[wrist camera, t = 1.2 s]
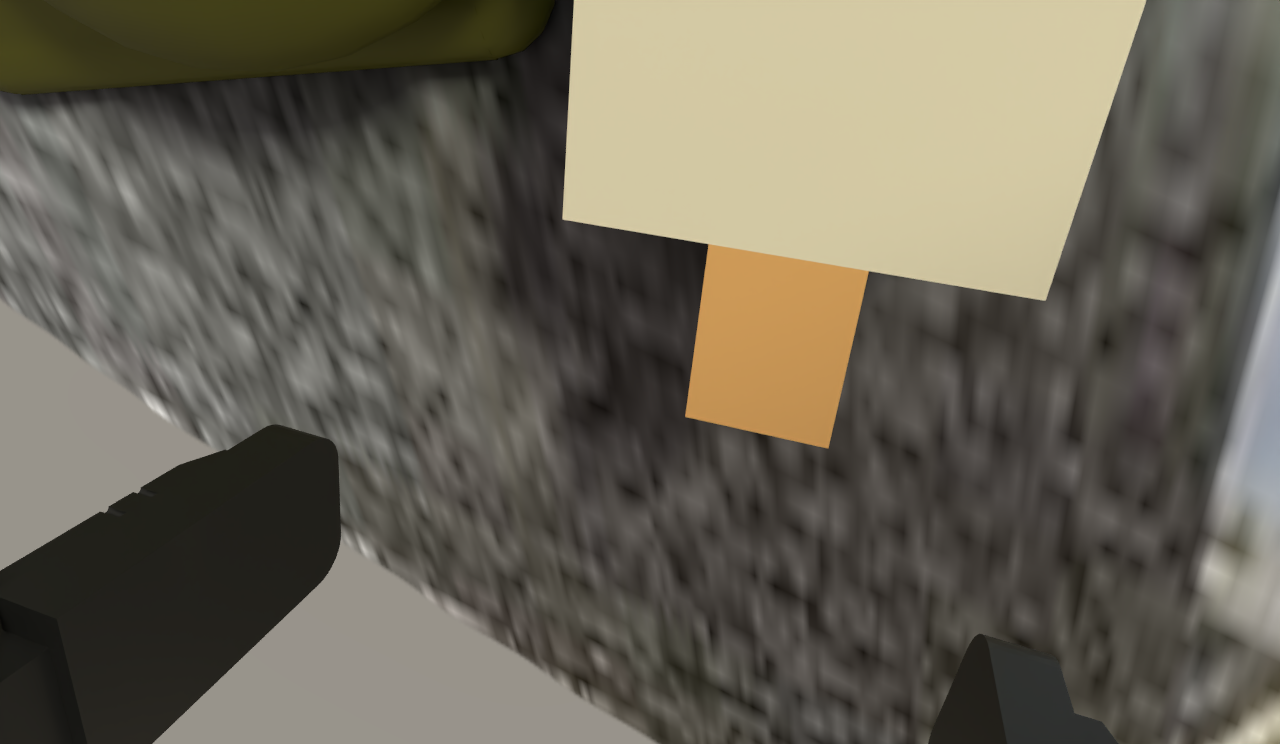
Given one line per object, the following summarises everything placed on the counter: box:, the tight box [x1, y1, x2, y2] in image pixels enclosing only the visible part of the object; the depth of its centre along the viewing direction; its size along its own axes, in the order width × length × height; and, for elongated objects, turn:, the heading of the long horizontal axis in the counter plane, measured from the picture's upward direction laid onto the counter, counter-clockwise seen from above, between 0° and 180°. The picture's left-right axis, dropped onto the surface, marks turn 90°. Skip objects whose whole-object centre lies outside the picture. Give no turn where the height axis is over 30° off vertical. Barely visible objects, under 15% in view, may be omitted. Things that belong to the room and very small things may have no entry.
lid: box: [562, 0, 1146, 448], centre depth 17 cm, size 12×22×2 cm, turn 174°
